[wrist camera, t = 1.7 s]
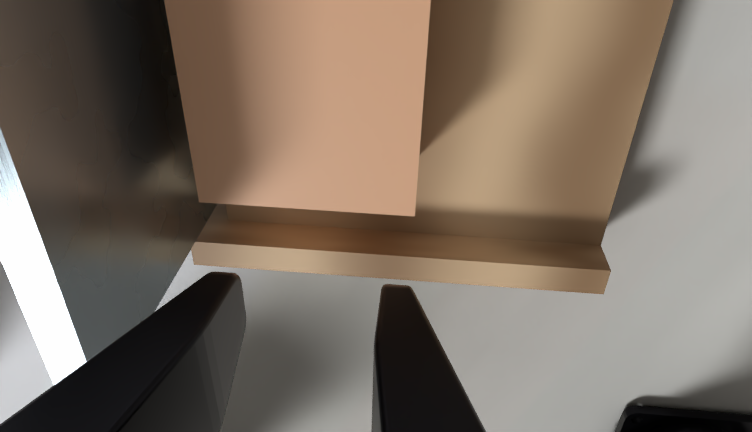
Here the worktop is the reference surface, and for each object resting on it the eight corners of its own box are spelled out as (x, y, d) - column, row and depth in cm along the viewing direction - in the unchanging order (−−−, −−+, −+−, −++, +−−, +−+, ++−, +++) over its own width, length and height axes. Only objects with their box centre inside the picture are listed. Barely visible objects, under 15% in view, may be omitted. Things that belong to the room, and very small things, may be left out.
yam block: (432, -45, 15) (431, -17, 12) (417, 156, 19) (414, 216, 16) (210, -54, 16) (159, -29, 13) (235, 145, 19) (199, 201, 16)
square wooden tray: (713, -224, 14) (773, -237, 12) (583, 241, 22) (603, 294, 19) (152, -236, 15) (95, -251, 12) (220, 217, 23) (194, 264, 20)
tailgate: (137, -167, 15) (173, -166, 15) (198, 189, 21) (224, 191, 21) (-182, -168, 7) (-108, -165, 7) (60, 398, 13) (101, 402, 13)
